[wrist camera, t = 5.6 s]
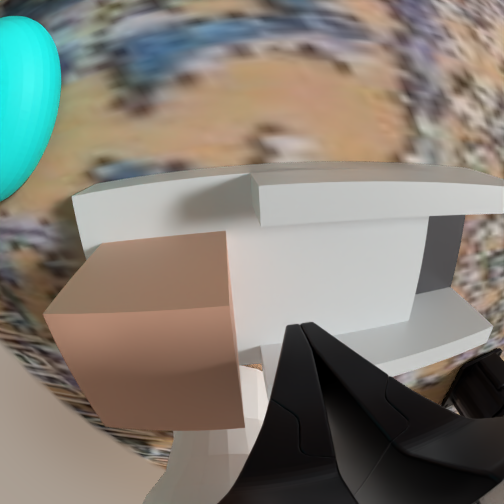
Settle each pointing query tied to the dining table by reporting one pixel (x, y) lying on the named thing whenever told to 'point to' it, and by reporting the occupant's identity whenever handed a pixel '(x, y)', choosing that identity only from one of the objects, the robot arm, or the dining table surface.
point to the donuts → (25, 98)
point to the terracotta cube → (153, 333)
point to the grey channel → (320, 249)
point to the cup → (212, 452)
